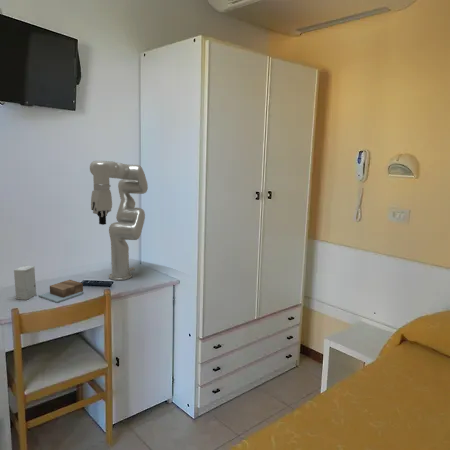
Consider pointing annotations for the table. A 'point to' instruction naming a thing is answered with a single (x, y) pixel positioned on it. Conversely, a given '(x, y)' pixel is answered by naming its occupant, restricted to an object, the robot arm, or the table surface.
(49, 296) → the mat
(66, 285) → the walnut slab
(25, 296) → the skincare box
